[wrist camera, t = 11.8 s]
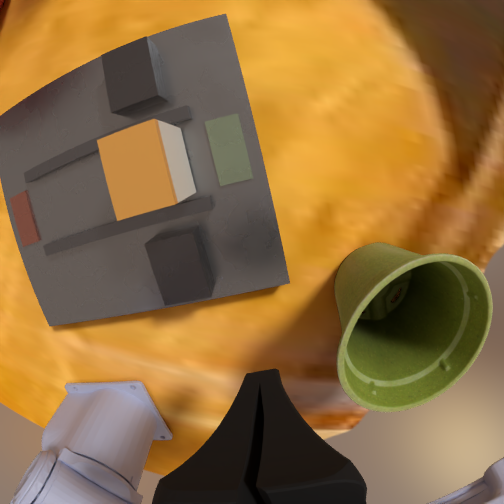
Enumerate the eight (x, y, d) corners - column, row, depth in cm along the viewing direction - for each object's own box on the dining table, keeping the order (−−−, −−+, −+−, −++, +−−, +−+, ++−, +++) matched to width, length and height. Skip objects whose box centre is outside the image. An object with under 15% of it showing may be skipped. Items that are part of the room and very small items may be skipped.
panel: (58, 318, 23) (37, 337, 20) (3, 122, 18) (-24, 121, 15) (287, 274, 22) (293, 296, 18) (227, 22, 17) (222, 0, 13)
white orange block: (150, 204, 18) (117, 220, 14) (135, 143, 17) (96, 140, 13) (196, 192, 18) (175, 204, 13) (180, 128, 17) (154, 118, 12)
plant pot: (287, 311, 22) (301, 392, 14) (350, 194, 20) (408, 219, 12) (384, 350, 23) (425, 421, 15) (445, 251, 21) (515, 296, 13)
